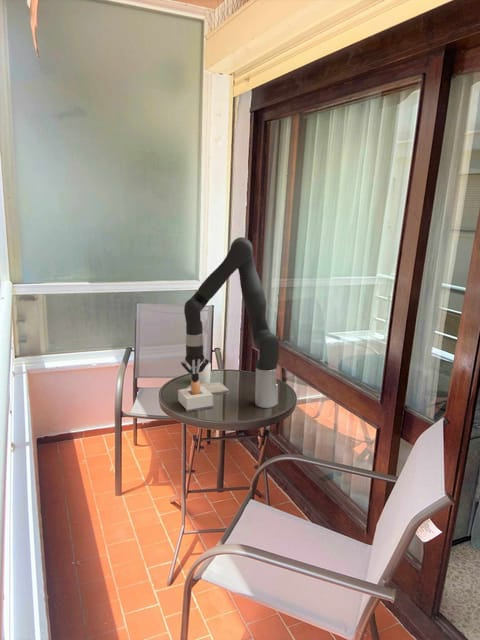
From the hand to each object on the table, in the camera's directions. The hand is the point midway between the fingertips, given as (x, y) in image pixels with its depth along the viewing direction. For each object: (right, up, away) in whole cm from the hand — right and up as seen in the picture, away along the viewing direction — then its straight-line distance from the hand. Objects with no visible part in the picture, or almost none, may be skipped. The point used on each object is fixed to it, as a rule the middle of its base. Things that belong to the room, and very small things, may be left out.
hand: (195, 381), depth 213 cm
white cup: (+1, -5, +30) cm, 31 cm away
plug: (0, -10, +2) cm, 10 cm away
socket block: (0, -11, +2) cm, 11 cm away
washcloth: (+5, -8, +18) cm, 21 cm away
